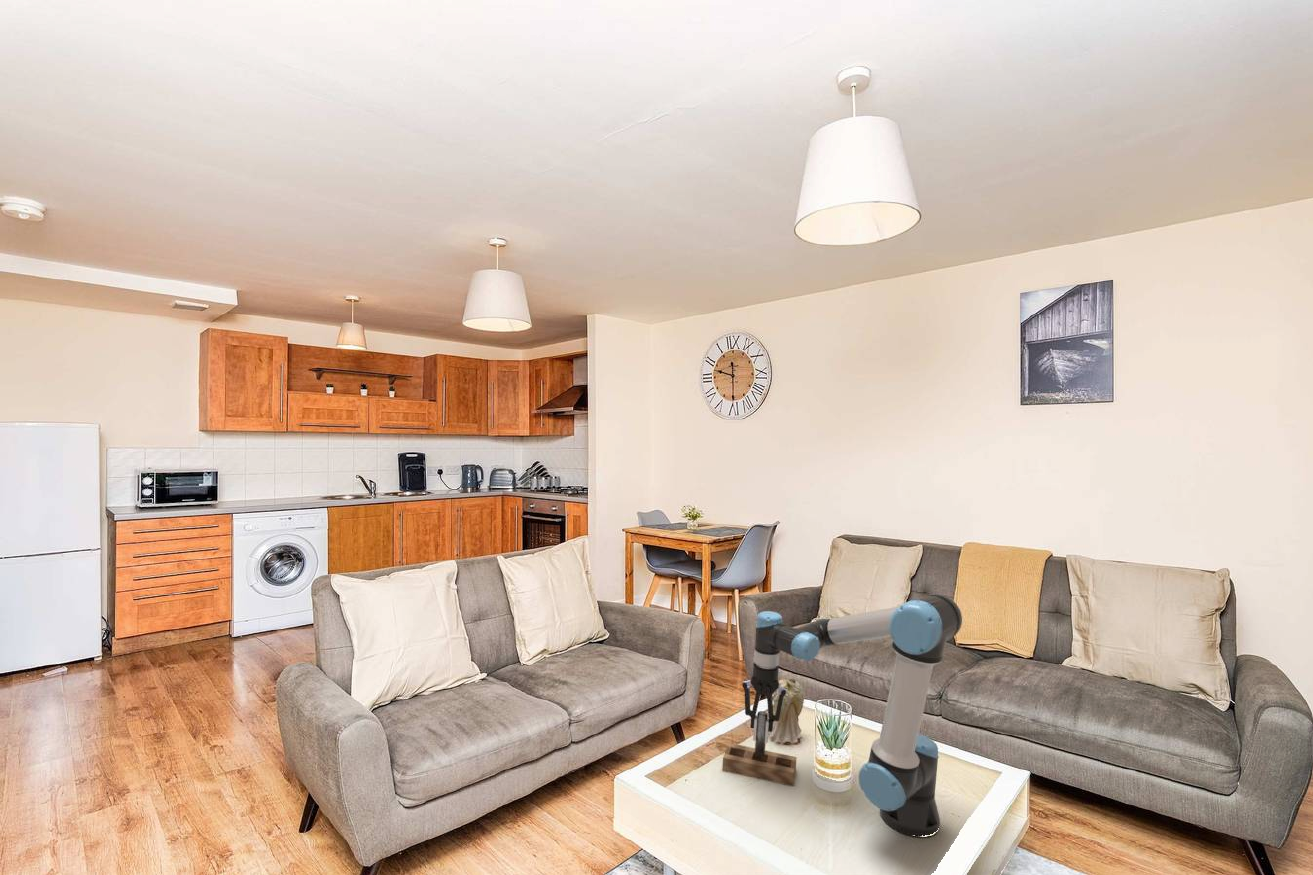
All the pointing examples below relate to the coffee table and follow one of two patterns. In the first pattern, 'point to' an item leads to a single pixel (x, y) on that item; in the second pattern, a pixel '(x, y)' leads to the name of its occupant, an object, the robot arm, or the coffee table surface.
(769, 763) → the hole block
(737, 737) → the coffee table surface
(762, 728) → the peg
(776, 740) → the figurine
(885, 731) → the robot arm
